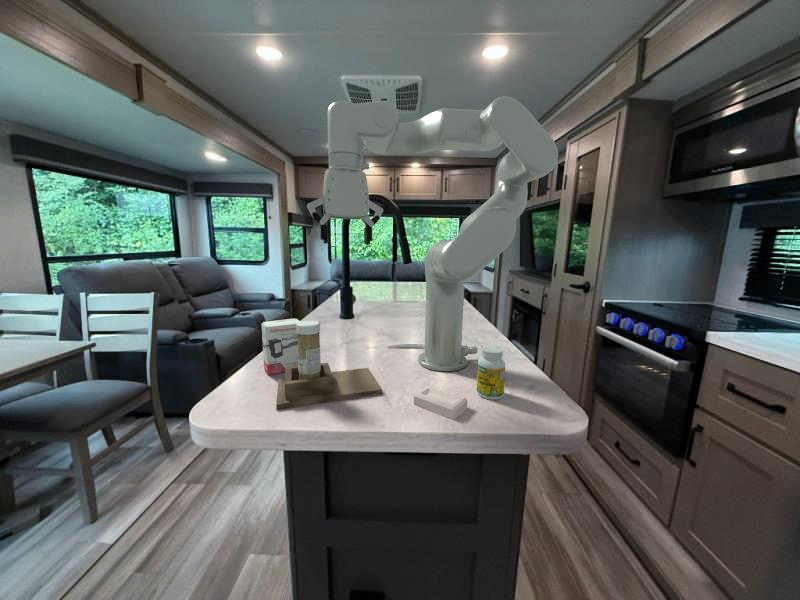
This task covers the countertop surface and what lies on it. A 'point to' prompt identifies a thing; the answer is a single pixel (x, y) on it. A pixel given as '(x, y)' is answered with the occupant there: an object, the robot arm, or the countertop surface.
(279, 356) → the ink box
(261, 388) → the countertop surface
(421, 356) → the robot arm
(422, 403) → the white soap dish
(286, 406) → the caddy board
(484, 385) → the supplement bottle
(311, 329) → the sprinkles bottle
